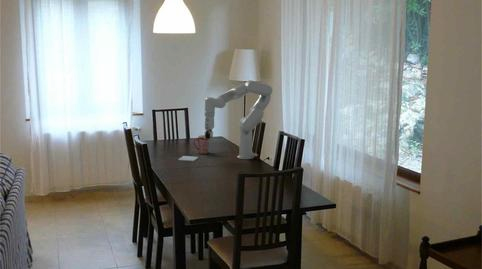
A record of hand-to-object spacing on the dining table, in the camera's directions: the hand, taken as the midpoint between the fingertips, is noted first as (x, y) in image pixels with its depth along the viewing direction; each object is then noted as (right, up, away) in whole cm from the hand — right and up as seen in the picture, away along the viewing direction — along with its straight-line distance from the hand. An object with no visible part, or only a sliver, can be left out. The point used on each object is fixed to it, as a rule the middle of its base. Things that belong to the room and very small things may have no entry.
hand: (208, 137), depth 392 cm
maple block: (0, 0, 0) cm, 1 cm away
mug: (-7, -13, +21) cm, 25 cm away
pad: (-15, -16, -1) cm, 22 cm away
